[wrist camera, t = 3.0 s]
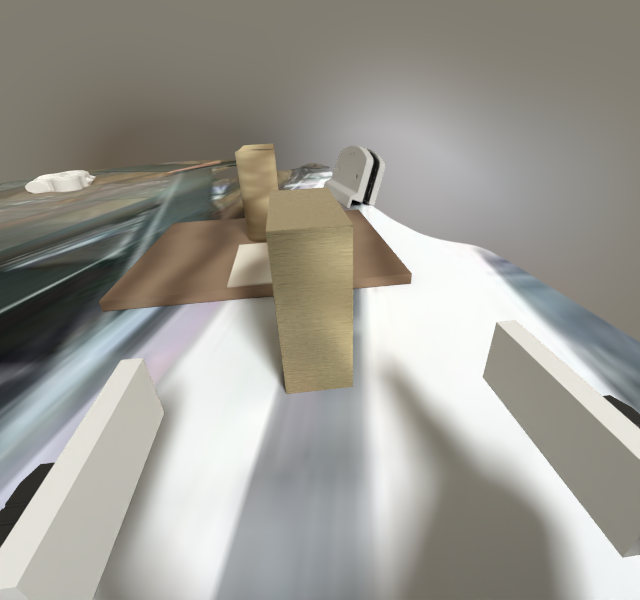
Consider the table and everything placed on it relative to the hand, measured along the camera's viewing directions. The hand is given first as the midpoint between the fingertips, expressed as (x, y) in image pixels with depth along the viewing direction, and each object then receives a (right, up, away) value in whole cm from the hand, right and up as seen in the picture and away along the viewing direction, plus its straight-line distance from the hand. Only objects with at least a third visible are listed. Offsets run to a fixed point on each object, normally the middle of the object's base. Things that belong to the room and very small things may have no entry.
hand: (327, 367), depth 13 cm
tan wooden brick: (-1, -1, +11) cm, 11 cm away
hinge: (+6, +22, +52) cm, 57 cm away
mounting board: (-7, +9, +28) cm, 30 cm away
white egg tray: (-69, +33, +79) cm, 110 cm away
